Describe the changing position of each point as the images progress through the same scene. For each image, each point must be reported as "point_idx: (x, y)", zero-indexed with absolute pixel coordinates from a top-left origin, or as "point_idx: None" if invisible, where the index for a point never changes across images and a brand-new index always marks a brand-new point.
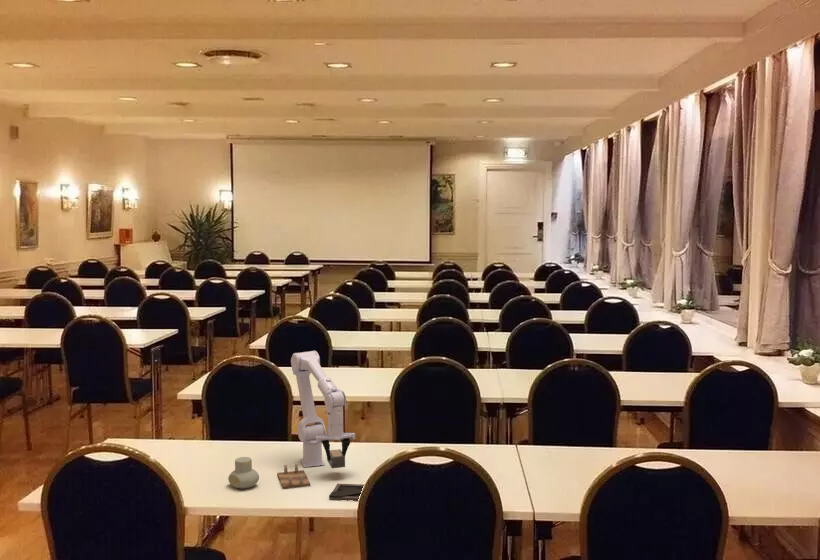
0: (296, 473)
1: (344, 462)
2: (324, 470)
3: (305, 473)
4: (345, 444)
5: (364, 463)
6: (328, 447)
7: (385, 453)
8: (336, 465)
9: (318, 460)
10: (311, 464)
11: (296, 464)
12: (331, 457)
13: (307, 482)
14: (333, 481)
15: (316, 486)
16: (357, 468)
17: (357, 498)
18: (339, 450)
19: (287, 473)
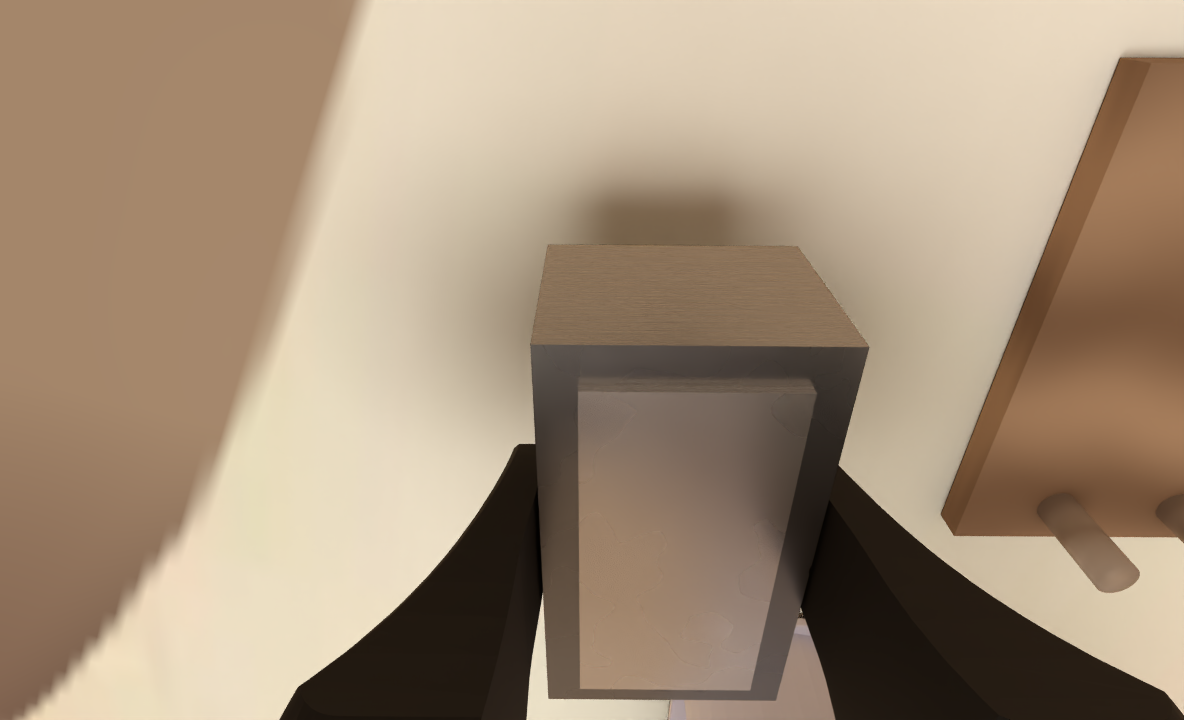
0: (1081, 471)
1: (554, 280)
2: None
3: (992, 445)
4: (450, 675)
5: (286, 576)
6: (974, 644)
7: (98, 713)
8: (715, 265)
9: None
10: (807, 640)
11: (1118, 575)
12: (863, 368)
13: (1162, 122)
14: (735, 154)
15: (1047, 14)
16: (364, 481)
17: None
18: (571, 660)
19: (1165, 496)
